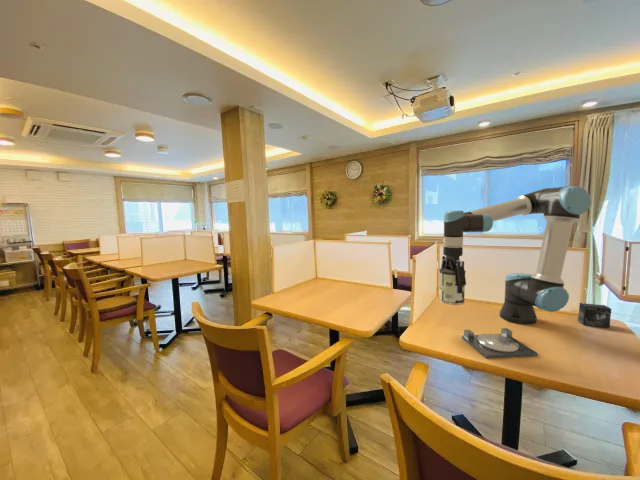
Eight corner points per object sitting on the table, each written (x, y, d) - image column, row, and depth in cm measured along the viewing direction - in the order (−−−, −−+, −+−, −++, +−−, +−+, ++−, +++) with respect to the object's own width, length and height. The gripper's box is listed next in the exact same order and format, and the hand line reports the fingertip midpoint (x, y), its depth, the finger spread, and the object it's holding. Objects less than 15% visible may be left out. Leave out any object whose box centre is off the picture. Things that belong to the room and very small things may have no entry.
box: (583, 325, 126) (585, 306, 125) (577, 321, 131) (579, 302, 130) (609, 328, 123) (612, 308, 122) (602, 323, 128) (604, 304, 127)
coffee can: (460, 297, 123) (461, 267, 122) (467, 305, 113) (468, 273, 112) (436, 296, 126) (437, 267, 124) (441, 304, 116) (442, 272, 114)
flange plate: (506, 336, 118) (507, 327, 117) (537, 356, 102) (538, 346, 101) (461, 338, 117) (462, 329, 116) (486, 358, 101) (486, 348, 100)
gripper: (432, 243, 128) (431, 288, 130) (458, 250, 105) (457, 305, 108) (448, 242, 128) (447, 288, 130) (477, 249, 106) (475, 304, 108)
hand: (451, 296), depth 119 cm, fingers closed on coffee can, 10 cm apart
